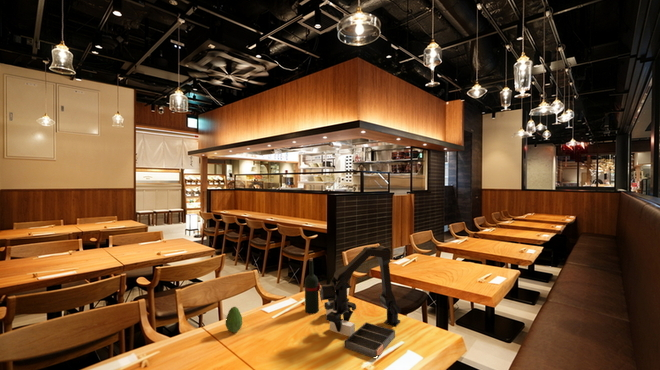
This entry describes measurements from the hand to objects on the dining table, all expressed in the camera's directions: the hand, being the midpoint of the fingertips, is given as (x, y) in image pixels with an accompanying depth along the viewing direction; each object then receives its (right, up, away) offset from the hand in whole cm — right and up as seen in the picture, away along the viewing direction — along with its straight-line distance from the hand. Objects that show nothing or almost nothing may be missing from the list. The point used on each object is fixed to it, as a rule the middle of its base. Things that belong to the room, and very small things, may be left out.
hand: (342, 329), depth 140 cm
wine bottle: (-15, -2, +24) cm, 28 cm away
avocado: (-53, -2, +2) cm, 54 cm away
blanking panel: (0, -2, 0) cm, 2 cm away
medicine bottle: (-4, -2, +17) cm, 18 cm away
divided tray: (+13, -1, -10) cm, 16 cm away
